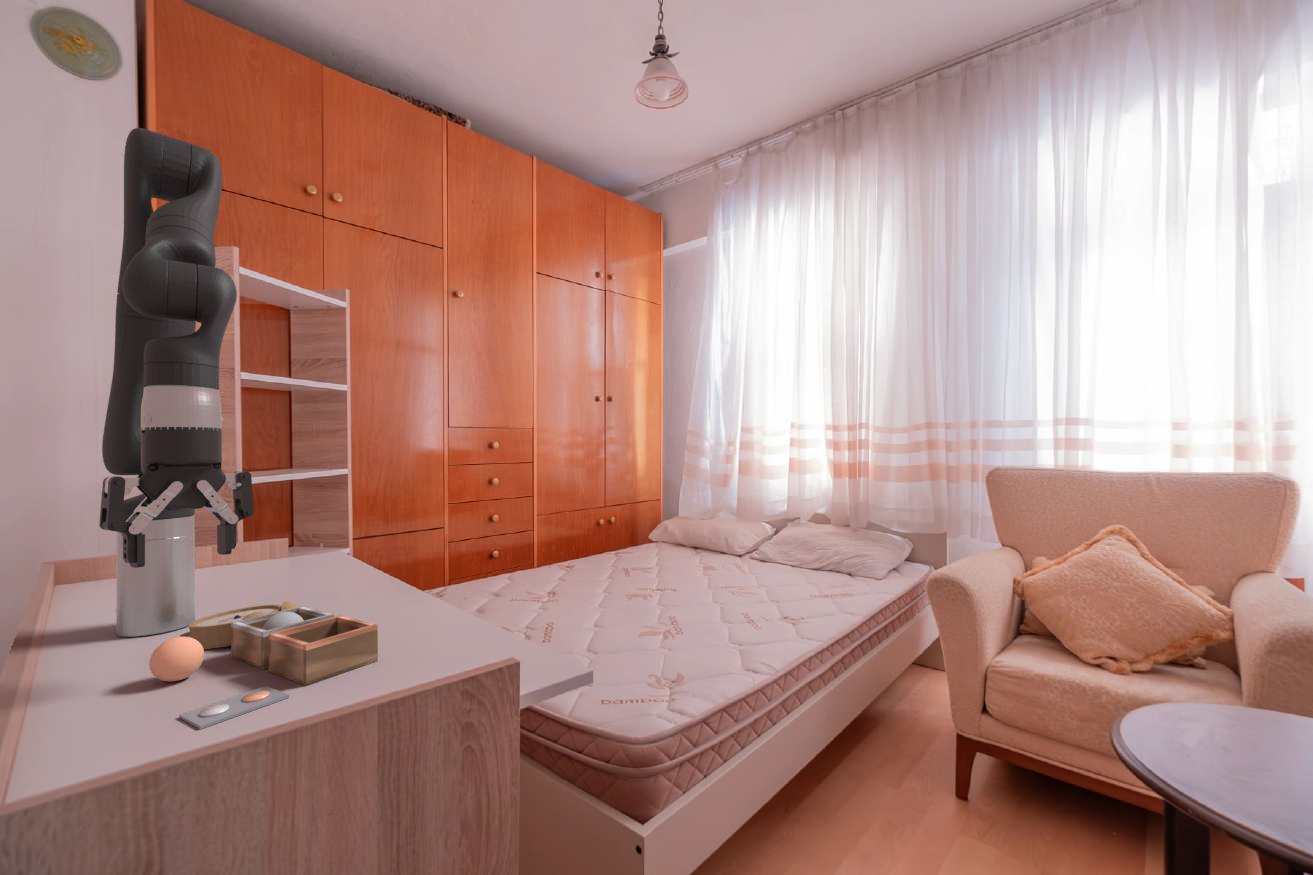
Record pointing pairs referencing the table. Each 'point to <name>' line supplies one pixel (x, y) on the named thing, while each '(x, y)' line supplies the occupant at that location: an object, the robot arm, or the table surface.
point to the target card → (232, 707)
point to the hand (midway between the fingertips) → (182, 560)
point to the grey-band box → (264, 635)
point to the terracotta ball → (176, 659)
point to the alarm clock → (227, 624)
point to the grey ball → (282, 620)
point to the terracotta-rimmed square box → (322, 649)
